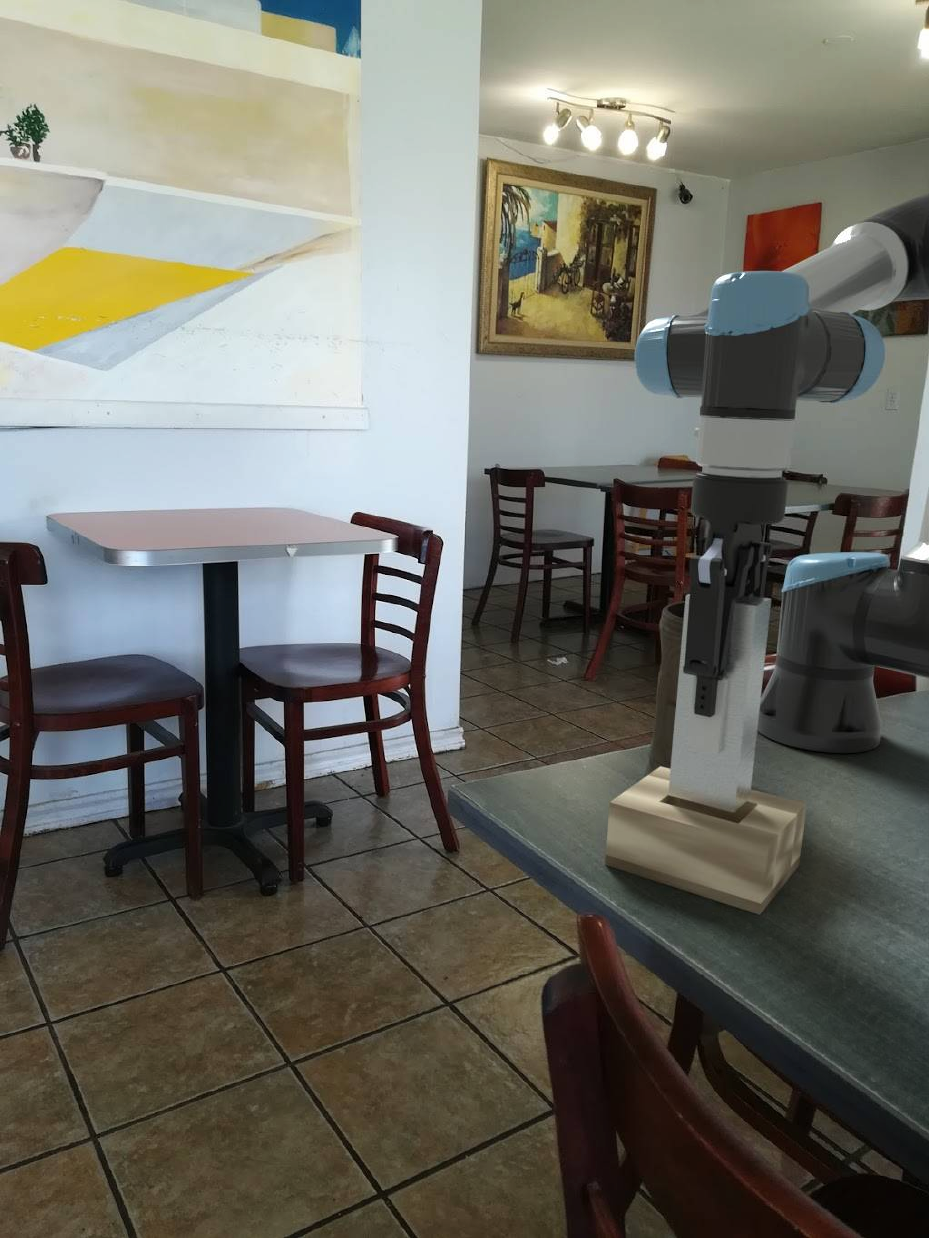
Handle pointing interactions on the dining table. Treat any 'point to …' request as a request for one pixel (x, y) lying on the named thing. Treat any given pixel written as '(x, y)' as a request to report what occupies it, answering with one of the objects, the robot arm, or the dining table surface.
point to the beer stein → (667, 687)
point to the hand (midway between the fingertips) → (714, 741)
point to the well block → (706, 842)
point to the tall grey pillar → (730, 770)
